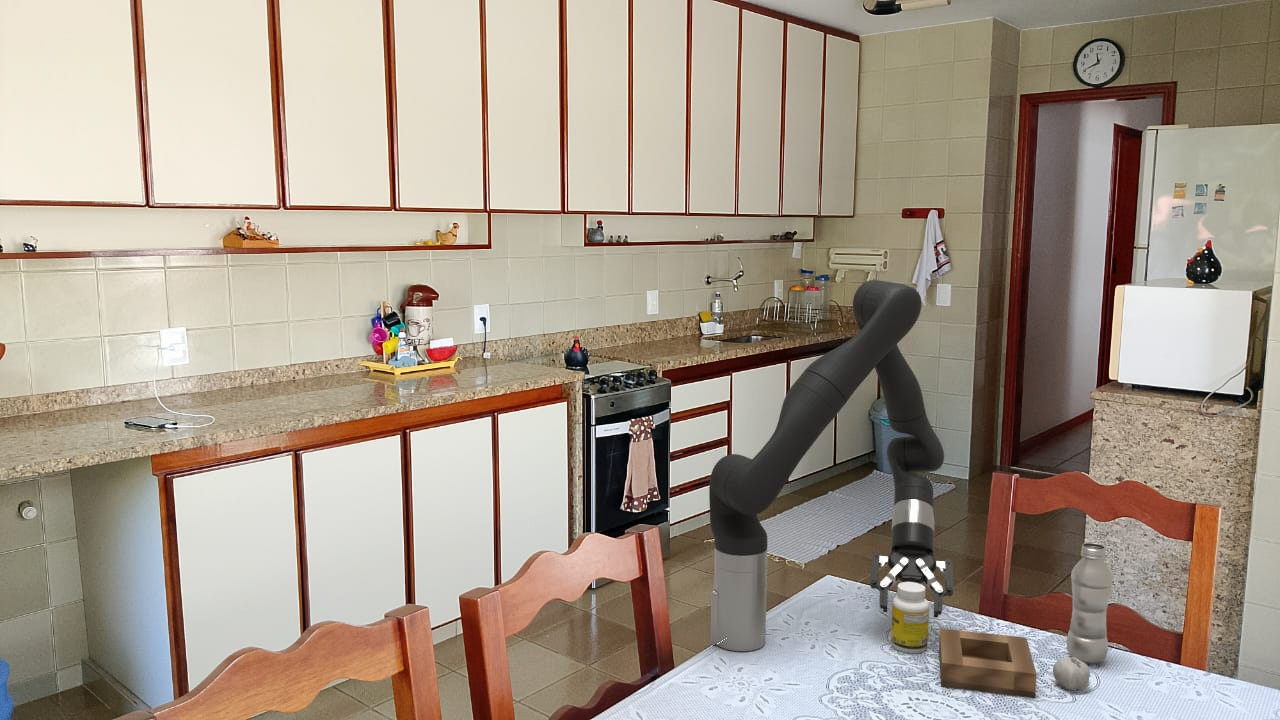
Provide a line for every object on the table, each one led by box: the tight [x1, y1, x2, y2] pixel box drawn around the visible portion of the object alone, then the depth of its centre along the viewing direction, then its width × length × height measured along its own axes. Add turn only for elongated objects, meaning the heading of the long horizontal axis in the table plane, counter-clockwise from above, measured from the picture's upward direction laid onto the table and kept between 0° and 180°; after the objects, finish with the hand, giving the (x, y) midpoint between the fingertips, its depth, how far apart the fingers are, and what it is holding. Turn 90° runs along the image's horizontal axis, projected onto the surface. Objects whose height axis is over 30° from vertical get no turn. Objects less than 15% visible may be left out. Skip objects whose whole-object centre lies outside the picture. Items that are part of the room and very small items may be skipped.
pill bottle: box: [890, 581, 930, 654], centre depth 167 cm, size 6×6×11 cm
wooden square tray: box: [938, 627, 1037, 699], centre depth 157 cm, size 14×14×4 cm
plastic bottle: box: [1065, 542, 1113, 665], centre depth 161 cm, size 6×7×20 cm
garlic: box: [1052, 656, 1091, 691], centre depth 153 cm, size 6×5×5 cm
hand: (910, 613), depth 166 cm, fingers open, 8 cm apart
